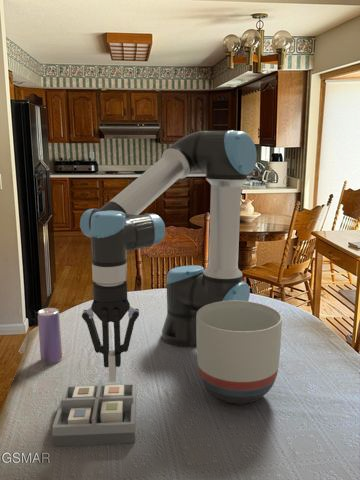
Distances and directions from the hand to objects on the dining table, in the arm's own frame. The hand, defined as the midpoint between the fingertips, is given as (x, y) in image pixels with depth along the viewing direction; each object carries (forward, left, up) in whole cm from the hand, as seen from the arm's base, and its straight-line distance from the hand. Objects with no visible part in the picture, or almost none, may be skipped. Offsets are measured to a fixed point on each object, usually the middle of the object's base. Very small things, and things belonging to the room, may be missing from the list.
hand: (112, 379), depth 111 cm
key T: (+7, +7, -8) cm, 12 cm away
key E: (+7, 0, -6) cm, 9 cm away
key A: (0, 0, -6) cm, 6 cm away
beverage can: (+20, -28, -9) cm, 36 cm away
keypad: (+3, +3, -9) cm, 10 cm away
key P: (0, +7, -6) cm, 9 cm away
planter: (-30, -5, -9) cm, 32 cm away
